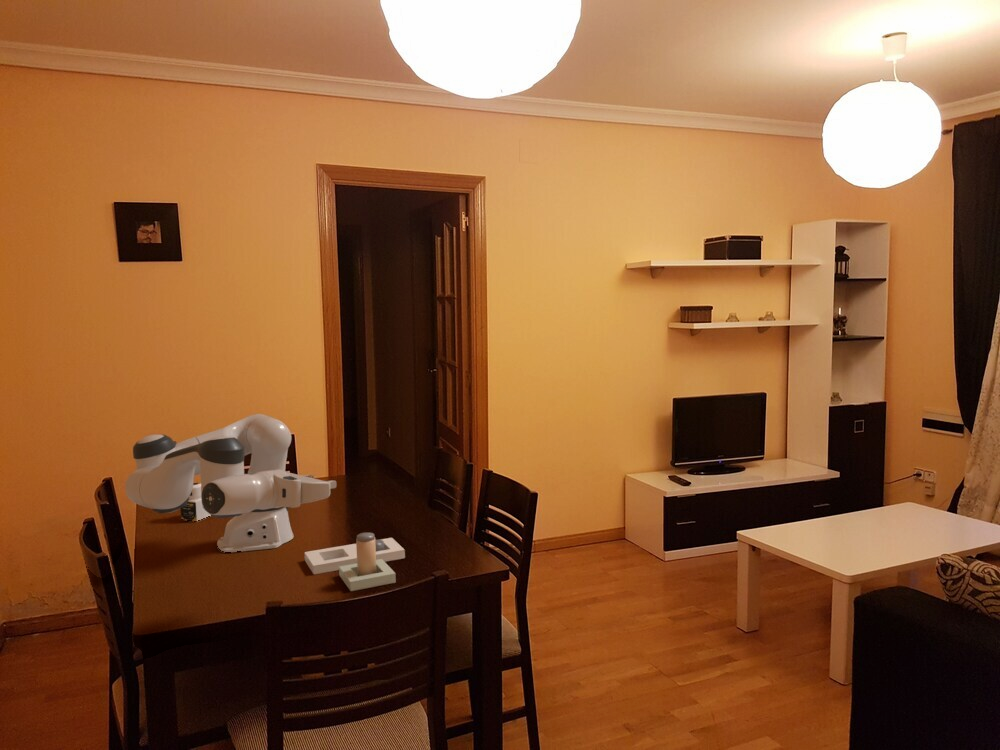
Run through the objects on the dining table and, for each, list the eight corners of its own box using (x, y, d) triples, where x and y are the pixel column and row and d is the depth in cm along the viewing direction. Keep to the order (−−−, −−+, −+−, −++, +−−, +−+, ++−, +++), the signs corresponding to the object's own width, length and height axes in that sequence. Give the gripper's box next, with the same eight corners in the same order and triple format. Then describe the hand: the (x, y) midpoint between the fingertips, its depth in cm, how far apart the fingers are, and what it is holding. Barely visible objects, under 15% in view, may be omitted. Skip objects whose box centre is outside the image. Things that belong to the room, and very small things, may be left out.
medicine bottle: (180, 520, 247) (178, 485, 245) (196, 514, 253) (194, 480, 252) (196, 522, 244) (194, 487, 243) (212, 516, 250) (210, 482, 249)
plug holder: (350, 591, 184) (350, 581, 183) (339, 575, 194) (338, 566, 194) (395, 582, 189) (395, 573, 189) (382, 567, 200) (381, 558, 199)
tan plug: (360, 584, 188) (358, 539, 187) (355, 577, 193) (353, 534, 192) (379, 580, 191) (377, 536, 189) (373, 574, 195) (372, 531, 194)
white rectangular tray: (313, 574, 195) (313, 560, 195) (304, 560, 206) (304, 547, 206) (405, 558, 207) (404, 544, 206) (392, 545, 217) (391, 532, 217)
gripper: (250, 495, 177) (299, 487, 187) (298, 509, 163) (347, 499, 174) (250, 469, 176) (299, 463, 187) (298, 481, 163) (348, 474, 174)
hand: (323, 481), depth 180 cm, fingers open, 8 cm apart
